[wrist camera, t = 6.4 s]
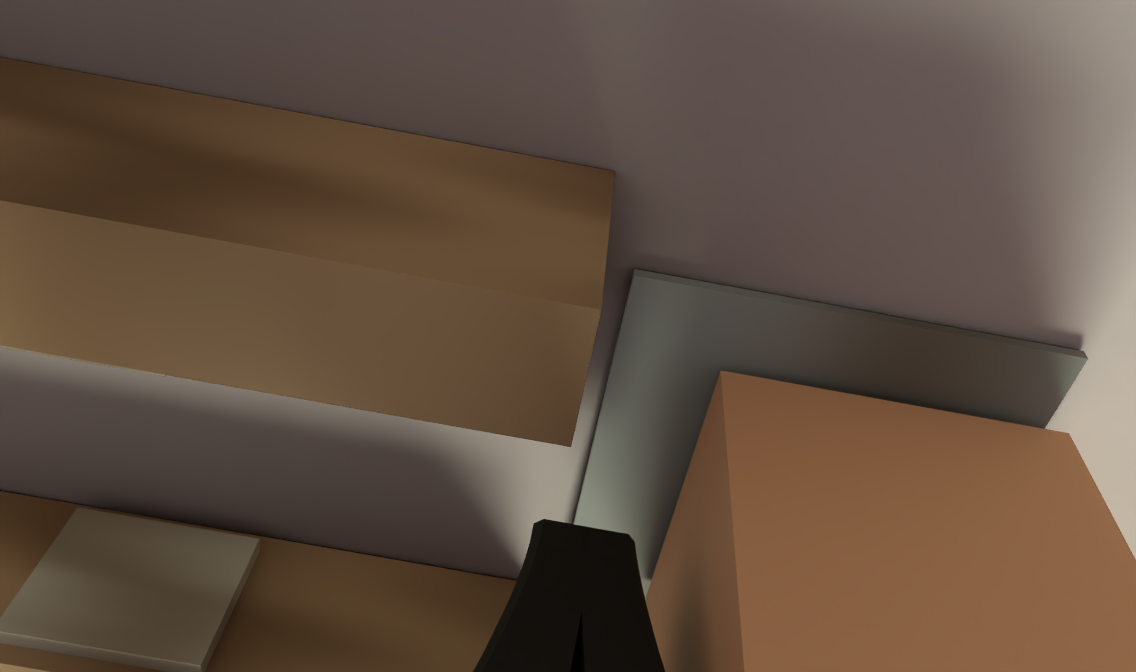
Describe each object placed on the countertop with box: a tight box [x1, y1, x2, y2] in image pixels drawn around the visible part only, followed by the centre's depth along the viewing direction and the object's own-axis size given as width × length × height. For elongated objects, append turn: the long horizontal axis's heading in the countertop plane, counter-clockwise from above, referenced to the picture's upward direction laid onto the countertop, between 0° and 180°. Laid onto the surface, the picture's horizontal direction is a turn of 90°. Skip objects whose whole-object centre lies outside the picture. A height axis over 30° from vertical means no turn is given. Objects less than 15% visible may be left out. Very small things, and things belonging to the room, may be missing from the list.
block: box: [646, 370, 1136, 672], centre depth 12 cm, size 5×5×5 cm
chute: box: [0, 57, 1088, 672], centre depth 13 cm, size 18×10×3 cm, turn 81°
